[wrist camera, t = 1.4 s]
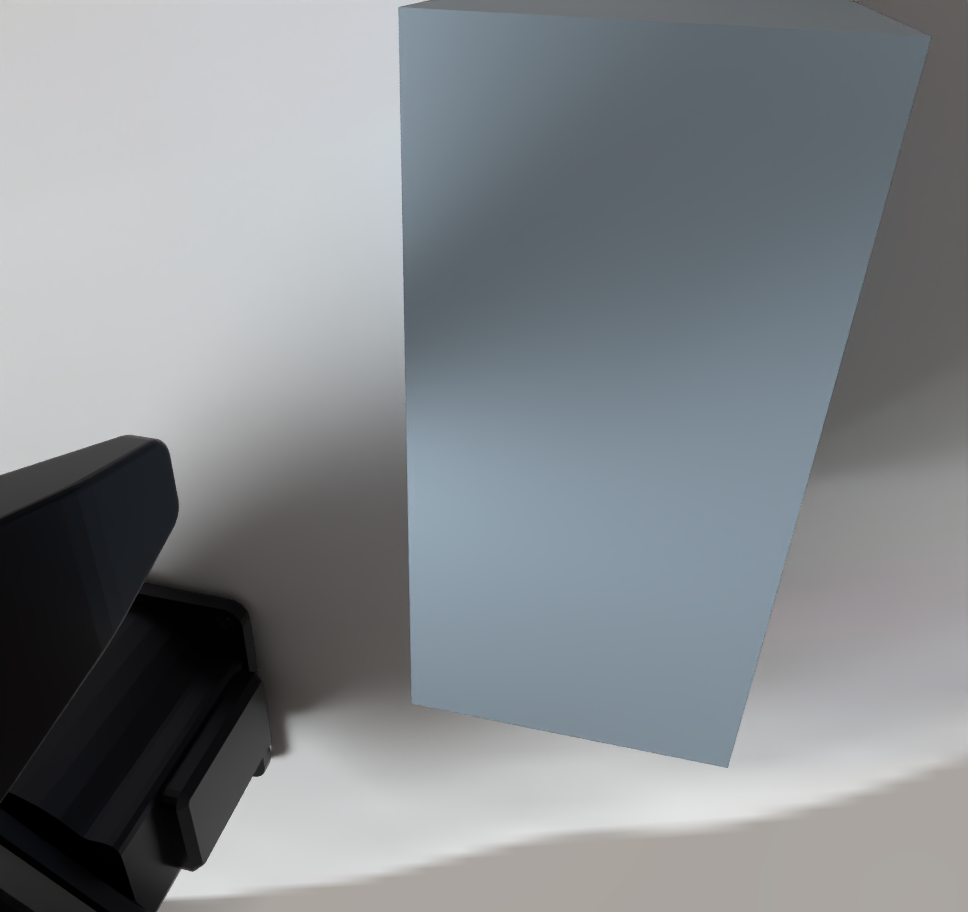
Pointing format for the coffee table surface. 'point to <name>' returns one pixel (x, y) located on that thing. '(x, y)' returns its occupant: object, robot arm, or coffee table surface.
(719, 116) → the key block
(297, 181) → the coffee table surface
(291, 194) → the coffee table surface
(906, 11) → the coffee table surface
